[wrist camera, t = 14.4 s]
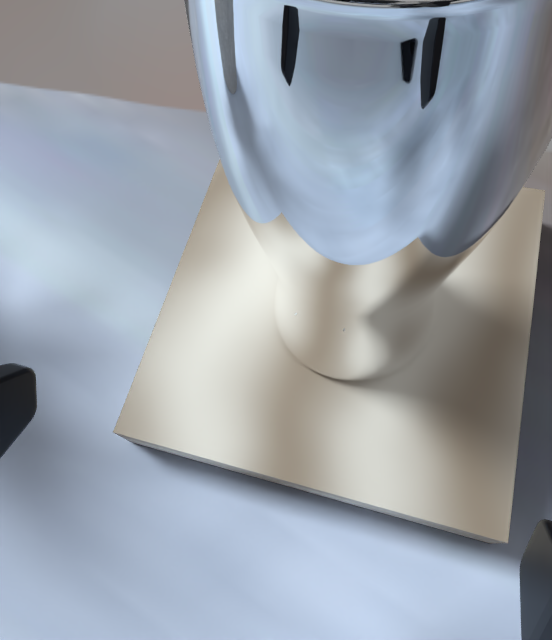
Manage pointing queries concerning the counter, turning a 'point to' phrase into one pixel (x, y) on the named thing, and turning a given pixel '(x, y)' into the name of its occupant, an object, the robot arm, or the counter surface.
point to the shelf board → (345, 396)
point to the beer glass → (372, 152)
